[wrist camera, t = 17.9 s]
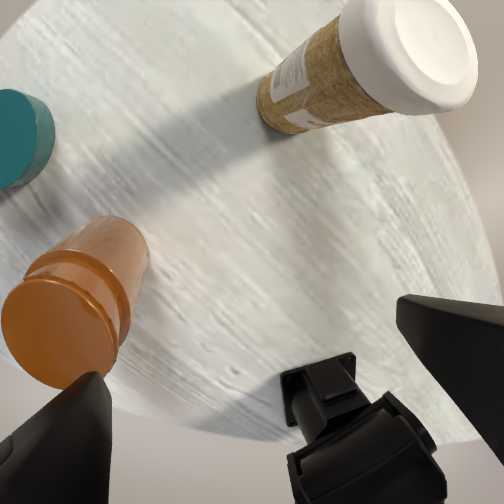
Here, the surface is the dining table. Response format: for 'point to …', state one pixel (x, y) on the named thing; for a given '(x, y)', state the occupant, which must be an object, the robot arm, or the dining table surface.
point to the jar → (77, 302)
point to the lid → (23, 137)
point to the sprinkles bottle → (373, 66)
